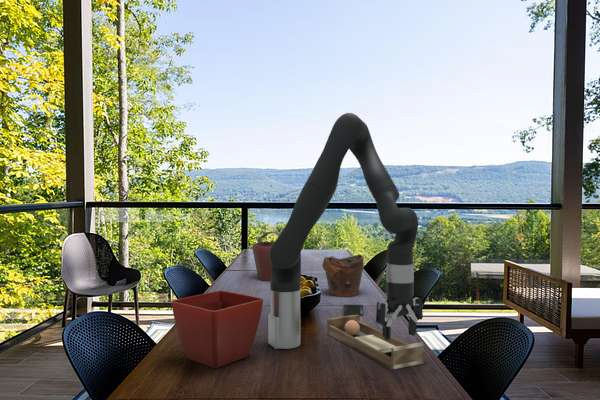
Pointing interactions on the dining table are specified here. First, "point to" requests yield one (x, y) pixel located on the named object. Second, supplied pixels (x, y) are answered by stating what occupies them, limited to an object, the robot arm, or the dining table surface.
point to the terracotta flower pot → (343, 275)
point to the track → (377, 344)
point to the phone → (353, 310)
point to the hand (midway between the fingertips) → (399, 337)
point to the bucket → (263, 257)
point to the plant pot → (217, 326)
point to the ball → (352, 328)
